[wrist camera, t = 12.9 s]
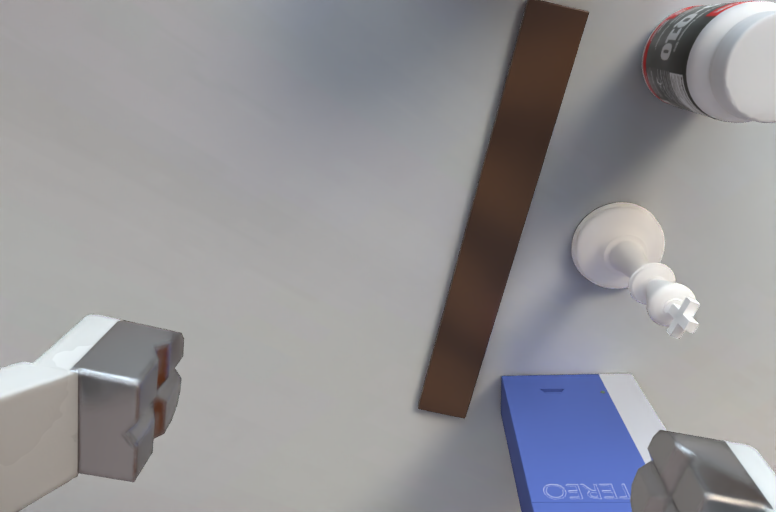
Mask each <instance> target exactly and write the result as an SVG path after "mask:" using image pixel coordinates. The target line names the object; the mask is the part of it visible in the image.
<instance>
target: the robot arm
mask: <svg viewBox="0 0 776 512" xmlns="http://www.w3.org/2000/svg"><path fill="white" fill-rule="evenodd" d="M183 351H184V337H183V335H182V333H180V332H176V331H171V330H167V329H162V328H158V327H153V326H149V325H144V324H139V323H135V322H130V321H126V320H121V319H118V318H112V317H107V316H102V315H96V314H91V315H87V316H85V317H84V318H83V319H82V320H81V321H80V322H78V323H77V324H76V325H75V326H74V327H73V328H72V329H71V330H69V331H68V332H67V333H66V334H65V335H64V336H63V337H62V338H61V339H59V340H58V341H57V342H56V343H55V344H54V345H53V346H52V347H50V348H49V349H48V350H47V351H46V352H45V353H44V354H43V355H41V356H40V357H39V358H38V359H37V360H36V361H35V362H34V363H28V362H20V363H16V364H13V365H9V366H6V367H3V368H0V512H18V511H20V510H22V509H23V508H25V507H27V506H28V505H30V504H32V503H33V502H35V501H37V500H38V499H40V498H42V497H43V496H45V495H47V494H48V493H50V492H52V491H53V490H55V489H57V488H58V487H60V486H62V485H63V484H65V483H67V482H68V481H70V480H72V479H73V478H75V477H77V475H78V473H81V474H87V475H93V476H99V477H105V478H111V479H117V480H124V481H130V482H135V480H136V478H137V477H138V475H139V473H140V472H141V470H142V469H143V467H144V465H145V464H146V462H147V461H148V459H149V457H150V456H151V454H152V453H153V440H154V438H156V437H158V436H160V435H162V434H164V433H165V431H166V429H167V428H168V426H169V424H170V423H171V421H172V418H173V415H174V413H175V410H176V407H177V404H178V399H179V395H180V388H181V377H180V375H179V374H178V372H177V371H176V369H175V367H176V366H177V364H178V363H179V361H180V360H181V359H182V357H183ZM647 449H648V452H649V455H650V457H651V461H650V462H648V463H647V464H645V465H643V466H642V467H640V468H639V469H638V470H637V473H636V475H635V477H634V480H633V482H632V485H631V497H630V503H631V509H632V512H776V474H775V473H774V471H773V470H772V469H771V468H770V466H769V465H768V464H767V462H766V461H765V460H764V459H763V457H762V456H761V455H760V453H759V452H758V451H757V450H756V449H755V448H753V447H751V446H750V445H748V444H742V443H736V442H730V441H724V440H716V439H710V438H704V437H699V436H693V435H687V434H682V433H676V432H670V431H665V430H659V431H658V432H657V433H656V434H655V435H654V436H653V438H652V440H651V442H650V444H649V446H648V448H647Z"/></svg>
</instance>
